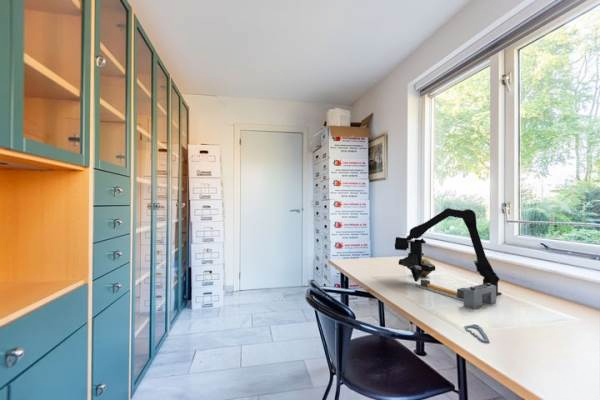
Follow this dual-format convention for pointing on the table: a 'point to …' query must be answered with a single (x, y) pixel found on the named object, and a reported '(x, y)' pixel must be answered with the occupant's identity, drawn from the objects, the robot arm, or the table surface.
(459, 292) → the grey-capped orange bar
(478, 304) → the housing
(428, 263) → the natural sponge
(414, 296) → the table surface
